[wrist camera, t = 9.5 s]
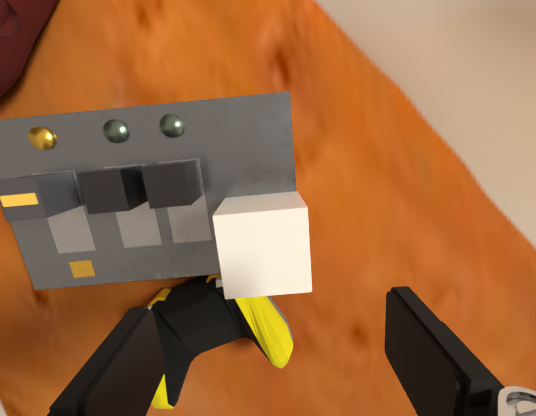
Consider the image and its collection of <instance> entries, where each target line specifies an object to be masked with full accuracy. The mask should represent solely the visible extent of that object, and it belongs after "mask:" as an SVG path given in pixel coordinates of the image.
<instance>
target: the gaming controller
mask: <svg viewBox="0 0 536 416" xmlns="http://www.w3.org/2000/svg"><path fill="white" fill-rule="evenodd" d="M146 307H148V308H149V310H152V311H153V314H154V318H155V322H156V326H157V331H158V335H159V339H160V343H161V347H162V351H163V355H164V359H165V364H166V367H165V373H164V375H163V377H162V380H161V382H160V384H159V387H158V389H157V391H156V393H155V396H154V398H153V400H152V402H151V403H152V405H153V407H154V408H159V409H172V408H173V407H174V406H175V405H176V403H177V402H178V399H179V396H180V393H181V390H182V387H183V384H184V381H185V378H186V375H187V372H188V369H189V366H190V363H191V362H192V361H193V359H194V358H195V357H196V356H198V355H199V354H201V353H202V352H205V351H208V350H210V349H213V348H215V347H218V346H220V345H223V344H226V343H228V342H231V341H233V340H236V339H239V338H248V339H251V340H253V341H254V343H255V344H256V345H257V346H258V347H259V349H260V350H261V351H262V352H263V354H264V355H265V356H266V357H267V358H268V360H269V361H270V362H271V363H272V364H273V365H274V366H276V367H278V368H282V367H284V366H285V365H286V364H287V362H288V360H289V358H290V355H291V352H292V349H293V341H294V339H293V336H292V333H291V330H290V327H289V324H288V321H287V319H286V318H285V316H284V315H283V314H282V312H281V311H280V310H279V308H278V307H277V305H276V304H275V303H274V301H273V300H272V299H271V297H270V296H258V297H247V298H235V299H225V296H224V289H223V283H222V276H221V274H213V275H203V276H201V277H198V278H196V279H193V280H191V281H189V282H186V283H184V284H182V285H179V286H177V287H174V288H172V289H167V288H164V289H163V290H161V291H160V292H159V293H158V294H157V295H156V296H155V297H154V299H153V300H152V301H151V302H150V303H149V304H148V305H147V306H146Z"/></svg>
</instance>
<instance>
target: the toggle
mask: <svg viewBox="0 0 536 416" xmlns="http://www.w3.org/2000/svg"><path fill="white" fill-rule="evenodd" d="M0 204H1V207H2V210H3V213H4V215H5V218H6V221H7V222H8V221H19V220H30V219H41V218H49V217H51V216H54V215H57V214H60V213H63V212H66V211H68V210H71V209H74V208H77V207H80V205H79V201H78V198H77V194H76V191H75V187H74V184H73V180H72V177H71V173H70V171H68V172H58V173H47V174H36V175H29V176H22V177H15V178H8V179H1V180H0Z"/></svg>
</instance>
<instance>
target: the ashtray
mask: <svg viewBox="0 0 536 416" xmlns="http://www.w3.org/2000/svg"><path fill="white" fill-rule="evenodd" d="M57 1H58V0H0V96H1V95H3V94H4V93H5V92H7V91H8V90H9V89H10V88H11V87H12V86H13V85H14V84H15V83H16V81H17V80H18V78H19V77H20V75H21V73H22V71H23V69H24V66H25V64H26V61H27V59H28V56H29V53H30V51H31V49H32V46H33V44H34V42H35V40H36V37H37V35H38V34H39V32H40V31H41V29H42V27H43V26H44V24H45V23H46V21H47V19H48V17H49V16H50V14H51V12H52V10H53V8H54V6H55V5H56V3H57Z"/></svg>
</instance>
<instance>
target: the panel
mask: <svg viewBox="0 0 536 416" xmlns="http://www.w3.org/2000/svg"><path fill="white" fill-rule="evenodd" d="M68 171H70V173H71V177H72V180H73V184H74V187H75V191H76V194H77V198H78V201H79V205H80V207H77V208H74V209H71V210H68V211H66V212H63V213H60V214H57V215H54V216H51V217H49V218H41V219H30V220H19V221H10V223H11V225H12V228H13V231H14V234H15V236H16V239H17V242H18V245H19V248H20V250H21V253H22V256H23V259H24V261H25V264H26V267H27V270H28V272H29V275H30V278H31V281H32V284H33V286H34V289H35V290H41V289H52V288H64V287H75V286H87V285H98V284H110V283H121V282H132V281H144V280H155V279H167V278H178V277H190V276H201V275H213V274H221V270H220V263H219V256H218V250H217V243H216V237H215V230H214V223H213V217H212V216H213V214H214V213H215V211H216V210H217V209H218V207H219V206H220V204H221V203H222V202H223V200H224V199H225V198H229V197H240V196H251V195H262V194H273V193H284V192H295V191H296V180H295V164H294V149H293V134H292V118H291V103H290V92H281V93H270V94H260V95H250V96H240V97H229V98H219V99H209V100H198V101H188V102H178V103H168V104H157V105H147V106H137V107H126V108H116V109H106V110H96V111H85V112H75V113H65V114H54V115H44V116H34V117H24V118H13V119H3V120H0V180H1V179H8V178H15V177H22V176H29V175H36V174H47V173H58V172H68Z"/></svg>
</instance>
